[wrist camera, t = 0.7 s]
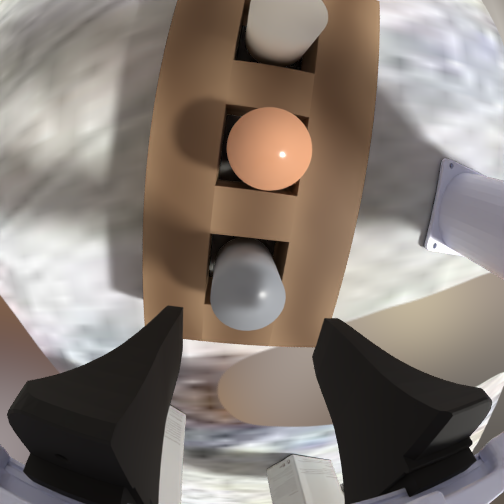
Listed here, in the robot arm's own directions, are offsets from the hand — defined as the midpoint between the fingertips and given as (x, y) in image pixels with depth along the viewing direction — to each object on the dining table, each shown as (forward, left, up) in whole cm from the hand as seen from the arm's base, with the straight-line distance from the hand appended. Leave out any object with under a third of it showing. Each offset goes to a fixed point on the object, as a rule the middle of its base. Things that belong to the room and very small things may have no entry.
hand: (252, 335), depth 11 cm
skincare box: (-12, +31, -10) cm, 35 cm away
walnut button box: (0, -7, -10) cm, 12 cm away
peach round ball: (0, -7, -7) cm, 10 cm away
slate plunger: (0, 0, -7) cm, 7 cm away
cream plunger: (0, -14, -7) cm, 16 cm away
